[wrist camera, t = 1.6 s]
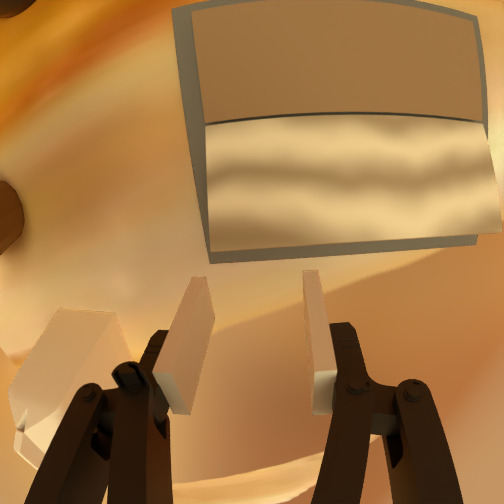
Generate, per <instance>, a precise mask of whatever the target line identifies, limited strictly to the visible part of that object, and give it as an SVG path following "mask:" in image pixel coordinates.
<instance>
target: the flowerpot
mask: <svg viewBox="0 0 504 504" xmlns="http://www.w3.org/2000/svg"><path fill="white" fill-rule="evenodd" d="M23 225H24V215H23V208H22V204H21V202H20V200H19V198H18V195H17V193H16V191H15V190H14V189H13V188H12V187H11V186H10V185H9V184H8V183H7V182H6V181H0V255H1V254H2V253H3V252H4V251H5V250H6V249H7V248H8V247H9V246H10V245H11V244H12V243H13V242H14V241H15V240H16V239H17V238H18V237H19V236H20V235H21V233H22V229H23Z"/></svg>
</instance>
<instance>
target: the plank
mask: <svg viewBox="0 0 504 504" xmlns="http://www.w3.org/2000/svg"><path fill="white" fill-rule="evenodd" d="M205 134H206V169H207V195H208V216H209V235H210V252H222V251H237V250H251V249H266V248H280V247H295V246H310V245H325V244H339V243H354V242H369V241H384V240H400V239H415V238H430V237H446V236H461V235H477V234H492V233H500V232H503V230H502V220H501V211H500V203H499V196H498V190H497V184H496V178H495V173H494V168H493V163H492V158H491V154H490V149H489V145H488V141H487V137H486V133H485V130H484V126H483V124H480V123H473V122H466V121H457V120H448V119H438V118H427V117H412V116H392V115H319V116H298V117H283V118H270V119H259V120H250V121H241V122H232V123H224V124H217V125H210V126H205Z"/></svg>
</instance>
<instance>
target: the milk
mask: <svg viewBox="0 0 504 504" xmlns="http://www.w3.org/2000/svg"><path fill="white" fill-rule="evenodd" d="M127 361H133V359H132V356H131V354H130V351H129V349H128V346H127V344H126V341H125V338H124V336H123V333H122V330H121V328H120V325H119V322H118V320H117V317H116V314H115V313H109V312H98V311H87V310H77V309H68V308H60V309H59V311H58V312H57V313H56V315H55V316H54V318H53V319H52V321H51V322H50V323H49V325H48V326H47V328H46V329H45V331H44V332H43V334H42V335H41V336H40V338H39V339H38V341H37V342H36V344H35V346H34V347H33V349H32V350H31V352H30V353H29V355H28V356H27V358H26V360H25V361H24V363H23V364H22V366H21V368H20V369H19V371H18V373H17V374H16V376H15V377H14V379H13V381H12V383H11V384H10V387H9V391H8V397H9V402H10V406H11V410H12V414H13V418H14V422H15V425H16V428H17V430H16V435H15V442H14V450H15V451H16V452H17V453H18V454H19V455H20V456H21V457H23V458H24V459H25V460H26V461H27V462H28V463H29V464H30V465H32V466H33V467H34V468H35V469H36V470H38V469H39V467H40V465H41V462H42V460H43V458H44V456H45V454H46V451H47V449H48V447H49V445H50V443H51V441H52V439H53V437H54V435H55V433H56V430H57V428H58V426H59V424H60V422H61V420H62V418H63V416H64V414H65V412H66V411H67V409H68V407H69V405H70V403H71V401H72V399H73V397H74V395H75V393H76V392H77V390H78V389H79V388H80V387H81V386H83V385H84V384H87V383H96V384H98V385H99V386H100V387H101V388H102V390H106V389H113V388H118V386H117V384H116V382H115V381H114V379H113V377H112V376H111V374H112V371H113V370H114V369H115V368H116V366H118V365H119V364H121V363H123V362H127Z"/></svg>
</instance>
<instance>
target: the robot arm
mask: <svg viewBox="0 0 504 504" xmlns="http://www.w3.org/2000/svg"><path fill="white" fill-rule="evenodd" d="M34 1H35V0H0V17H12V16H14V15H17V14H18V13H20V12H22V11H23V10H25V9H26V8H27V7H28V6H30V5H31V4H32V3H33V2H34ZM303 299H304V320H305V331H306V341H307V351H308V364H309V376H310V388H311V403H312V415H319V414H331V413H332V411H333V415H332V420H331V425H330V430H329V434H328V439H327V443H326V447H325V452H324V456H323V460H322V464H321V468H320V472H319V476H318V480H317V484H316V487H315V491H314V495H313V498H312V501H311V504H360V498H361V494H362V488H363V482H364V477H365V470H366V463H367V457H368V449H369V442H370V434H374V435H382V439H383V444H384V450H385V455H386V461H387V467H388V473H389V479H390V486H391V493H392V500H393V504H463V499H462V495H461V491H460V486H459V483H458V479H457V475H456V471H455V467H454V464H453V460H452V456H451V453H450V449H449V446H448V443H447V439H446V436H445V433H444V430H443V427H442V424H441V421H440V418H439V415H438V412H437V409H436V406H435V403H434V400H433V398H432V395H431V392H430V390H429V388H428V386H427V385H426V384H425V383H423V382H422V381H419V380H416V379H408V380H405V381H403V382H401V383H400V384H399V385H398V387H394V386H386V385H381V384H378V383H376V382H374V381H373V380H372V379H371V378H370V377H369V376H368V373H367V371H366V367H365V363H364V359H363V355H362V352H361V348H360V344H359V340H358V337H357V333H356V330H355V328H354V327H353V326H352V325H351V324H350V323H349V322H343V323H332V324H329V322H328V318H327V312H326V307H325V302H324V297H323V292H322V287H321V283H320V278H319V273H318V270H308V271H303ZM214 320H215V315H214V311H213V307H212V302H211V298H210V293H209V289H208V284H207V279H206V277H192V278H191V281H190V283H189V285H188V288H187V290H186V292H185V294H184V297H183V299H182V301H181V304H180V306H179V308H178V311H177V313H176V315H175V318H174V320H173V322H172V325H171V327H170V329H169V330H158V331H157V332H156V333H155V334H154V335H153V336H152V337H151V338H150V340H149V343H148V345H147V347H146V349H145V351H144V353H143V356H142V358H141V360H140V362H139V363H137V362H135V361H127V362H123V363H121V364H119V365H118V366H116V368H115V369H114V370H113V371H112V374H111V376H112V377H113V379H114V381H115V382H116V384H117V386H118V388H113V389H106V390H102V388H101V387H100V386H99V385H98V384H96V383H87V384H84V385H83V386H81V387H80V388H79V389H78V390H77V392H76V393H75V395H74V397H73V399H72V401H71V403H70V405H69V407H68V409H67V411H66V412H65V414H64V416H63V418H62V420H61V422H60V424H59V426H58V428H57V430H56V433H55V435H54V437H53V439H52V441H51V443H50V445H49V447H48V449H47V451H46V454H45V456H44V458H43V460H42V462H41V465H40V467H39V469H38V472H37V474H36V476H35V478H34V481H33V483H32V485H31V488H30V490H29V493H28V495H27V498H26V500H25V503H24V504H102V501H103V498H104V494H105V492H106V489H107V486H108V496H107V504H173V494H172V479H171V454H170V420H169V417H168V415H167V412H168V409H169V407H170V408H171V410H172V412H173V414H183V415H190V414H191V410H192V406H193V402H194V398H195V394H196V390H197V386H198V382H199V378H200V374H201V370H202V367H203V363H204V358H205V355H206V351H207V347H208V343H209V340H210V336H211V332H212V328H213V324H214Z"/></svg>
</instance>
